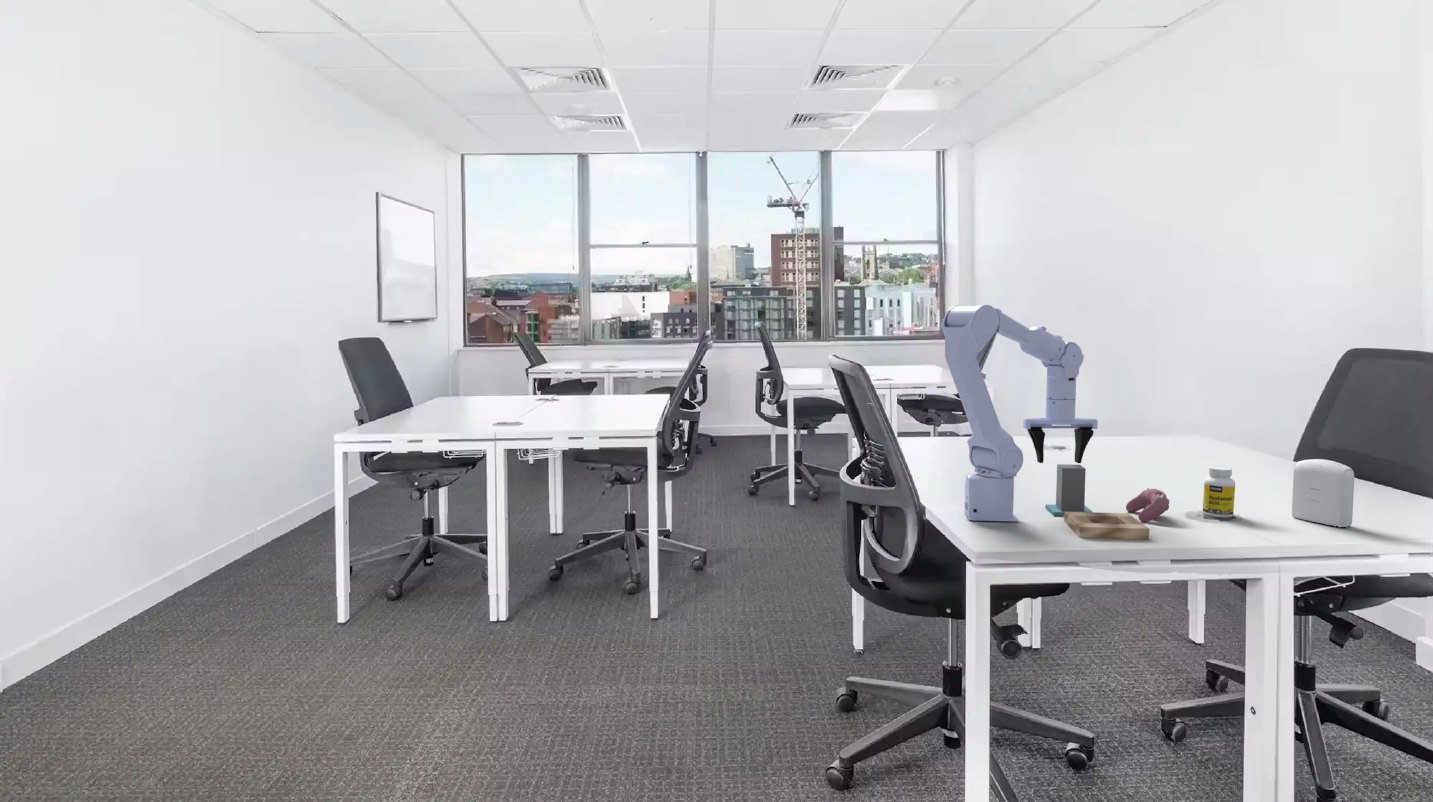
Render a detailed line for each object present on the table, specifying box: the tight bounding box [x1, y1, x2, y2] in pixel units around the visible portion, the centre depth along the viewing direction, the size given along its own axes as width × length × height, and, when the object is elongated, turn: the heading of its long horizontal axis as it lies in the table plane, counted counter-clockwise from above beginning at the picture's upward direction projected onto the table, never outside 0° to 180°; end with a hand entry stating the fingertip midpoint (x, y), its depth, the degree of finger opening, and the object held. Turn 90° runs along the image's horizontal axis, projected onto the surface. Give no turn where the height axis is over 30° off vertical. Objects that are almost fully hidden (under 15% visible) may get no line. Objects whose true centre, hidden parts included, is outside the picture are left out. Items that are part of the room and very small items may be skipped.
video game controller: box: [1125, 487, 1170, 523], centre depth 168 cm, size 10×5×7 cm, turn 169°
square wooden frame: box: [1063, 511, 1150, 540], centre depth 158 cm, size 12×12×2 cm
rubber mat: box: [1044, 504, 1094, 517], centre depth 173 cm, size 8×7×1 cm
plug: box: [1055, 463, 1087, 512], centre depth 172 cm, size 4×4×9 cm
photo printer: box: [1291, 458, 1355, 528], centre depth 161 cm, size 10×4×12 cm, turn 20°
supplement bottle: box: [1202, 465, 1236, 519], centre depth 168 cm, size 5×5×10 cm
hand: (1059, 462), depth 175 cm, fingers open, 7 cm apart
